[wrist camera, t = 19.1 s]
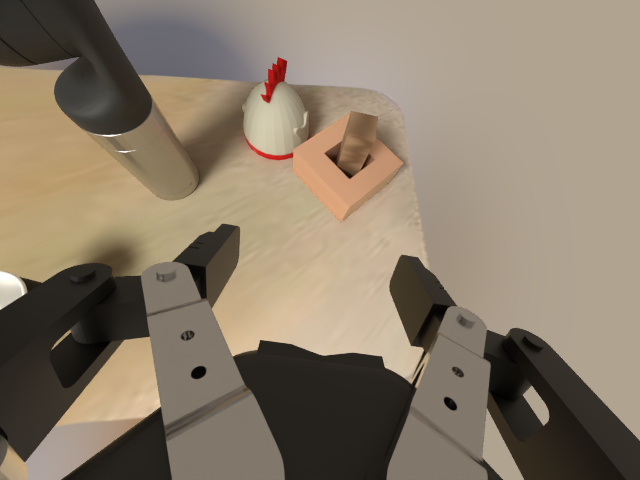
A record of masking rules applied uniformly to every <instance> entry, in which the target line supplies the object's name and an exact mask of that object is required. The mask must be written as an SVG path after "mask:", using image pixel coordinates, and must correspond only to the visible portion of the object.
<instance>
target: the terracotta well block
mask: <svg viewBox="0 0 640 480" xmlns="http://www.w3.org/2000/svg"><path fill="white" fill-rule="evenodd" d="M350 113H351V112H350ZM350 113H349V114H347V115H345V116H344V117H342V118H341V119H339V120H338V121H336V122H335V123H333V124H332V125H330V126H329V127H327V128H325V129H324V130H322V131H321V132H319V133H318V134H316V135H315V136H313V137H312V138H310V139H309V140H307V141H305V142H304V143H302V144H301V145H299V146H298V147H296V148H295V149H293V172H294V173H295V174H296V175H297V176H298V177H299V178H300V179H301V180H302V181H303V183H304V184H305V185H306V186H307V187H308V188H309V189H310V190H311V191H312V192H313V193H314V194H315V195H316V196H317V197H318V199H319V200H320V201H321V202H322V203H323V204H324V205H325V206H326V207H327V208H328V209H329V210H330V211H331V212H332V214H333V215H334V216H335V217H336V218H337V219H338V220H339V221H340V222H342V221H343V220H344V219H345V218H347V217H348V216H349V215H350V214H351V213H353V212H354V211H355V210H356V209H358V208H359V207H360V206H361V205H362V204H364V203H365V202H366V201H367V200H368V199H370V198H371V197H372V196H373V195H374V194H376V193H377V192H378V191H379V190H380V189H382V188H383V187H384V186H385V185H387V184H388V183H389V182H390V181H391V179H392V178H393V177H394V175H395V174H396V173H397V171H398V170H399V169H400V167H401V166H402V165H403V162H402V161H401V160H400V159H399V158H398V157H397V156H396V155H395V154H394V153H392V152H391V151H390V150H389V149H388V148H387V147H386V146H385V145H384V144H383V143H382V142H381V141H380V140H379V139H378V138H377V137H376V140H375V142H374V144H373V146H372V148H371V150H370V152H369V154H368V156H367V158H366V160H365V162H364V164H363V166H362V168H361V170H360V172H358V173H357V174H356V175H355V176H353V177H352V178H351V179H349V178H348V177H347V176H346V175H345V174H344V173H343V172H342V171H341V170H340V169H339V168H338V167H337V166H336V165H335V162H336V159H337V155H338V152H339V149H340V146H341V142H342V139H343V136H344V133H345V129H346V126H347V123H348V120H349V116H350Z"/></svg>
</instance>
